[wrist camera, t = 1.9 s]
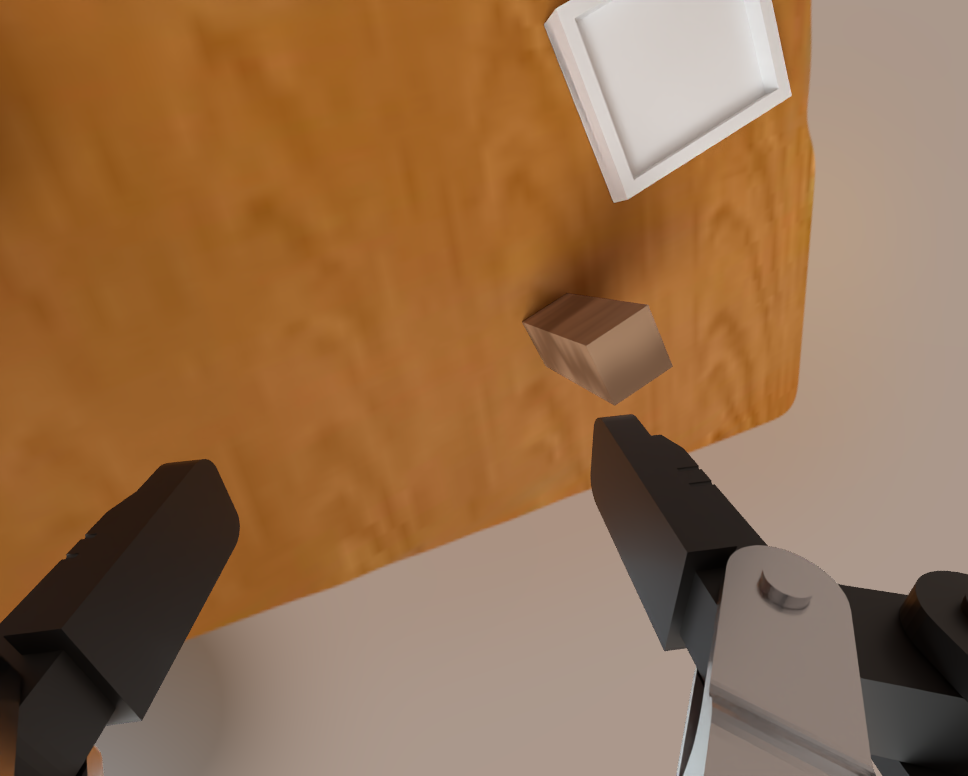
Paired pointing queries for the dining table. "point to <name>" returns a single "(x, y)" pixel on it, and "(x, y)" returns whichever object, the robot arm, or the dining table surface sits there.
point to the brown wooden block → (600, 344)
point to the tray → (665, 78)
